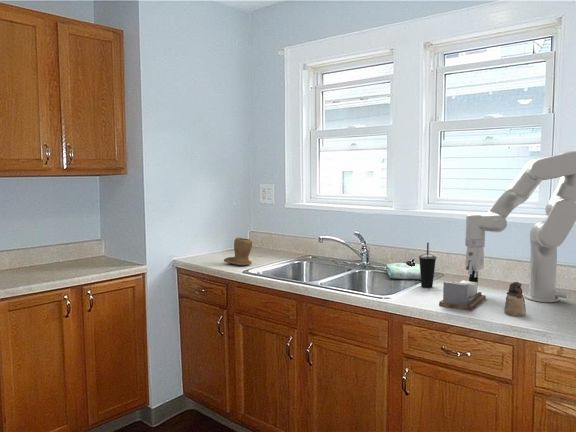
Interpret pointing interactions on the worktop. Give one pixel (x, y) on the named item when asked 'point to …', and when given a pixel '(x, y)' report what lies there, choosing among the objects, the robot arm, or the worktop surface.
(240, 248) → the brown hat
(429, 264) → the drinking cup
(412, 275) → the towel
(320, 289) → the worktop surface
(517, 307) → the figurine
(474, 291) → the gauge carriage
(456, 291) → the grey rectangular block
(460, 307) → the base
